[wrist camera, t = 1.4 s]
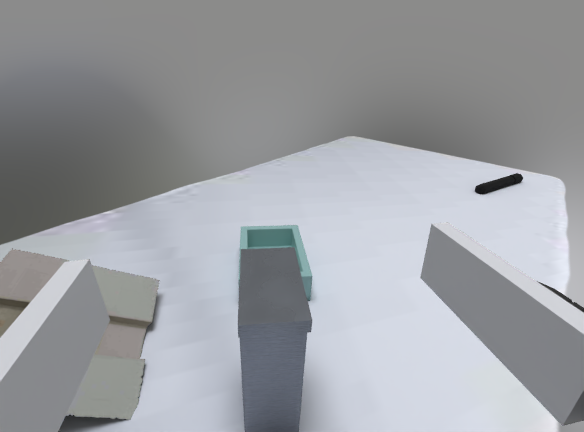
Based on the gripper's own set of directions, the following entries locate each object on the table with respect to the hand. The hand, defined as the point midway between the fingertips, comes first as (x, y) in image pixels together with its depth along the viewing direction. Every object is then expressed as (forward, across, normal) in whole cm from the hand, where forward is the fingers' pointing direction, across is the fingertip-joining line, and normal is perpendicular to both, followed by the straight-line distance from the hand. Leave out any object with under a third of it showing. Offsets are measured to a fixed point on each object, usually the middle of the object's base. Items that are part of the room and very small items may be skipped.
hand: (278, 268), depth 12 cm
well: (+27, +3, -19) cm, 33 cm away
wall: (+16, -18, -20) cm, 31 cm away
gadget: (+54, +67, -21) cm, 88 cm away
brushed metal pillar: (+8, 0, -20) cm, 22 cm away
